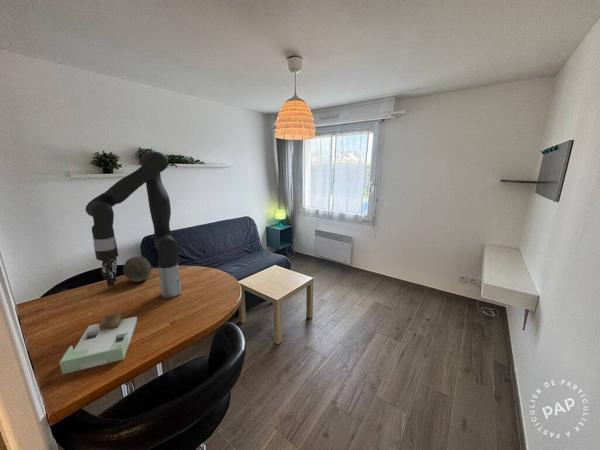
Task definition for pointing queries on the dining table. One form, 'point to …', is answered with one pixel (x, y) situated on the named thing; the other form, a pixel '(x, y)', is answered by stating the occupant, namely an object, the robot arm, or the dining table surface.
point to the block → (110, 322)
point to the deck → (99, 347)
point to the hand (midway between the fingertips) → (112, 283)
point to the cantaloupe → (137, 269)
